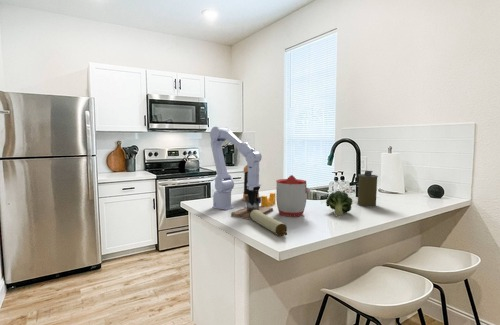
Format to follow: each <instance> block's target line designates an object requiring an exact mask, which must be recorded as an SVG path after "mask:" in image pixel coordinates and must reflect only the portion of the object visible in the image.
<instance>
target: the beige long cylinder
mask: <svg viewBox="0 0 500 325" xmlns="http://www.w3.org/2000/svg"><path fill="white" fill-rule="evenodd" d="M249 217H250V218H251V219H250V220H253V221H254V222H256V223H258V224H259V225H260V226H263V227H264V228H266V229H267V230H269V231H271V232H272V233H274V234H275V235H277V236H278V237H283V236H288V232H287V231H288V227H287V224H285V223H284V222H281V221H280V220H276V219H274V218H272V217H271V216H269V215H268V214H266V215H265V214H263V213H262V212H261V211H259V210H255V209H253V210H251V211H250V213H249Z"/></svg>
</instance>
